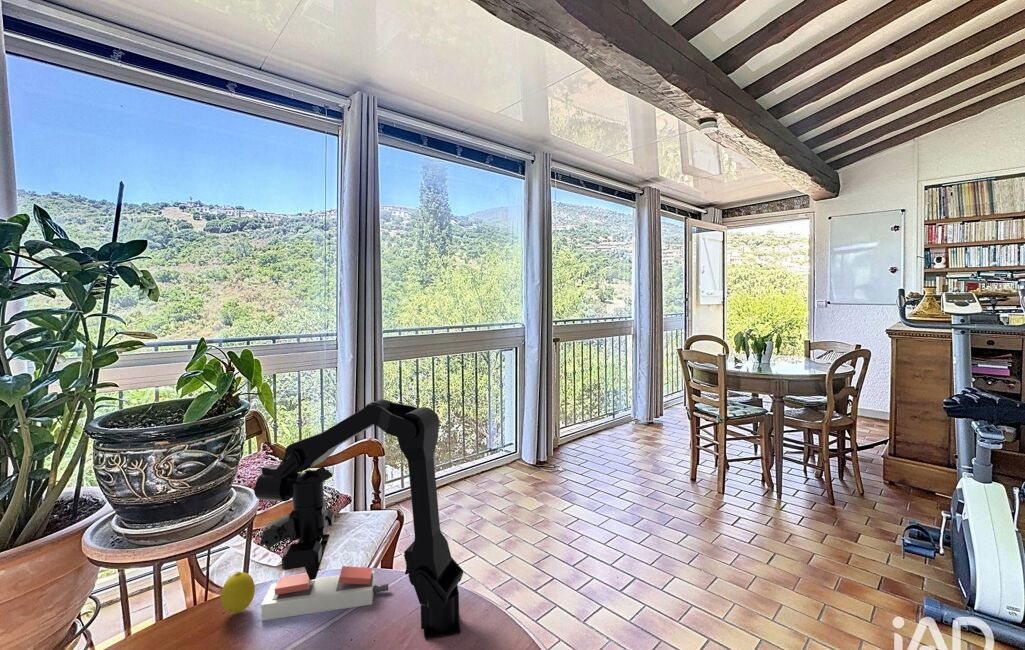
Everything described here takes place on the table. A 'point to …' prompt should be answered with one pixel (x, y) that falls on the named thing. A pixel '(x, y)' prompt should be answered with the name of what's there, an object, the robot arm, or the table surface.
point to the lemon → (238, 592)
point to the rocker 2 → (355, 575)
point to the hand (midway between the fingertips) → (313, 578)
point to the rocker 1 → (292, 584)
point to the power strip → (319, 598)
